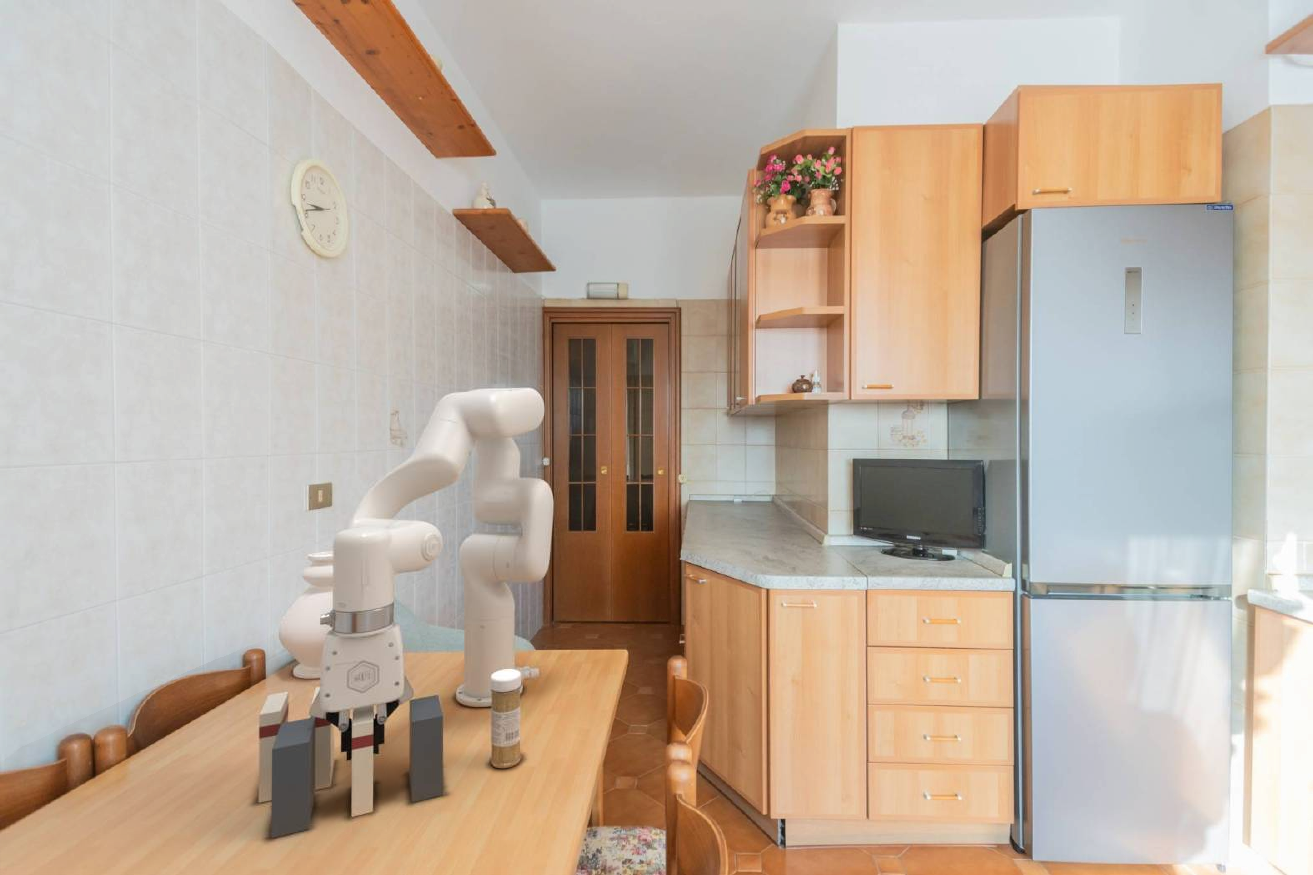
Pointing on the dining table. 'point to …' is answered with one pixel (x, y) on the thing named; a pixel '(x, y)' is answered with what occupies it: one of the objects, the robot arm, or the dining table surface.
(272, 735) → the ivory book
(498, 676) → the sprinkles bottle
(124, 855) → the dining table surface
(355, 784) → the ivory book
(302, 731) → the grey book
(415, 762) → the grey book
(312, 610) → the decorative vase
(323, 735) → the ivory book
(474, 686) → the robot arm
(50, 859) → the dining table surface
